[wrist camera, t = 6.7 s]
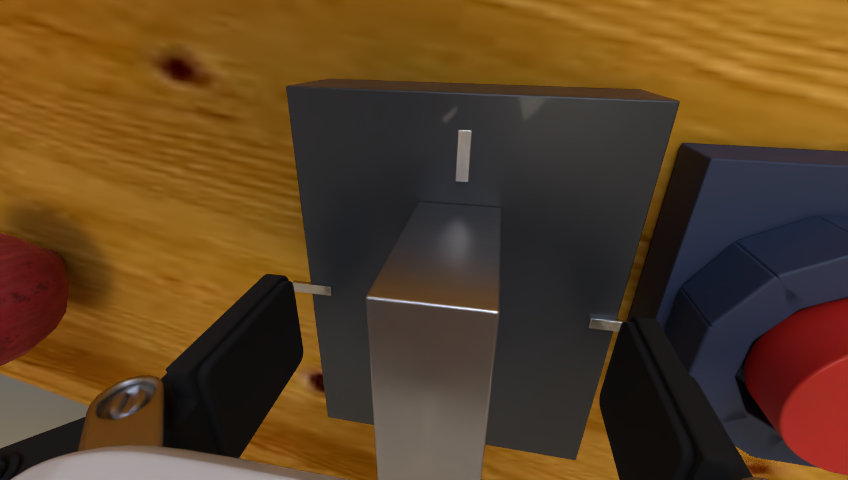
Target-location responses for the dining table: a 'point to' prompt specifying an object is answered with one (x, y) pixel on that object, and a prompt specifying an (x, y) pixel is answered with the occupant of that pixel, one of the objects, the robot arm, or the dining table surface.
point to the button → (806, 382)
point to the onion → (29, 295)
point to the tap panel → (520, 226)
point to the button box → (744, 266)
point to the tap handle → (435, 343)
